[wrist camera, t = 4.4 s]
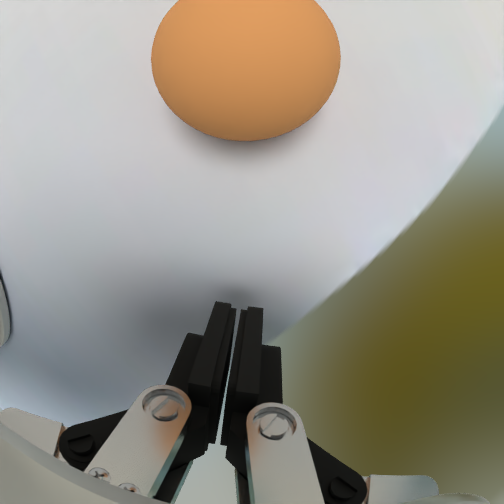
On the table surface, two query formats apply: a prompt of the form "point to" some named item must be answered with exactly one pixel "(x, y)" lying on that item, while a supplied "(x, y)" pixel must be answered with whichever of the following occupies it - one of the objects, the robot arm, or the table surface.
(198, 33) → the ball
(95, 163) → the table surface
